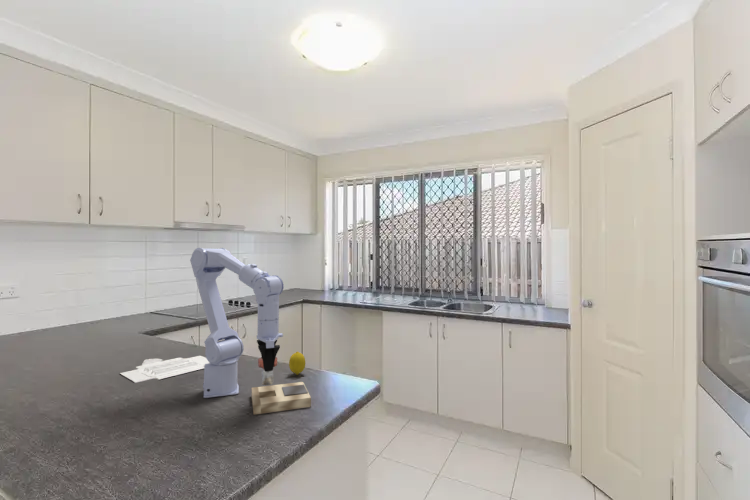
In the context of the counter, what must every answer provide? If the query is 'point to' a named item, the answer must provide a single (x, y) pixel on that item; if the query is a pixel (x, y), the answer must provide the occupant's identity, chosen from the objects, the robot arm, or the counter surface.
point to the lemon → (297, 363)
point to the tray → (165, 368)
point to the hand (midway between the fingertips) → (267, 367)
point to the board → (280, 398)
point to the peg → (268, 375)
